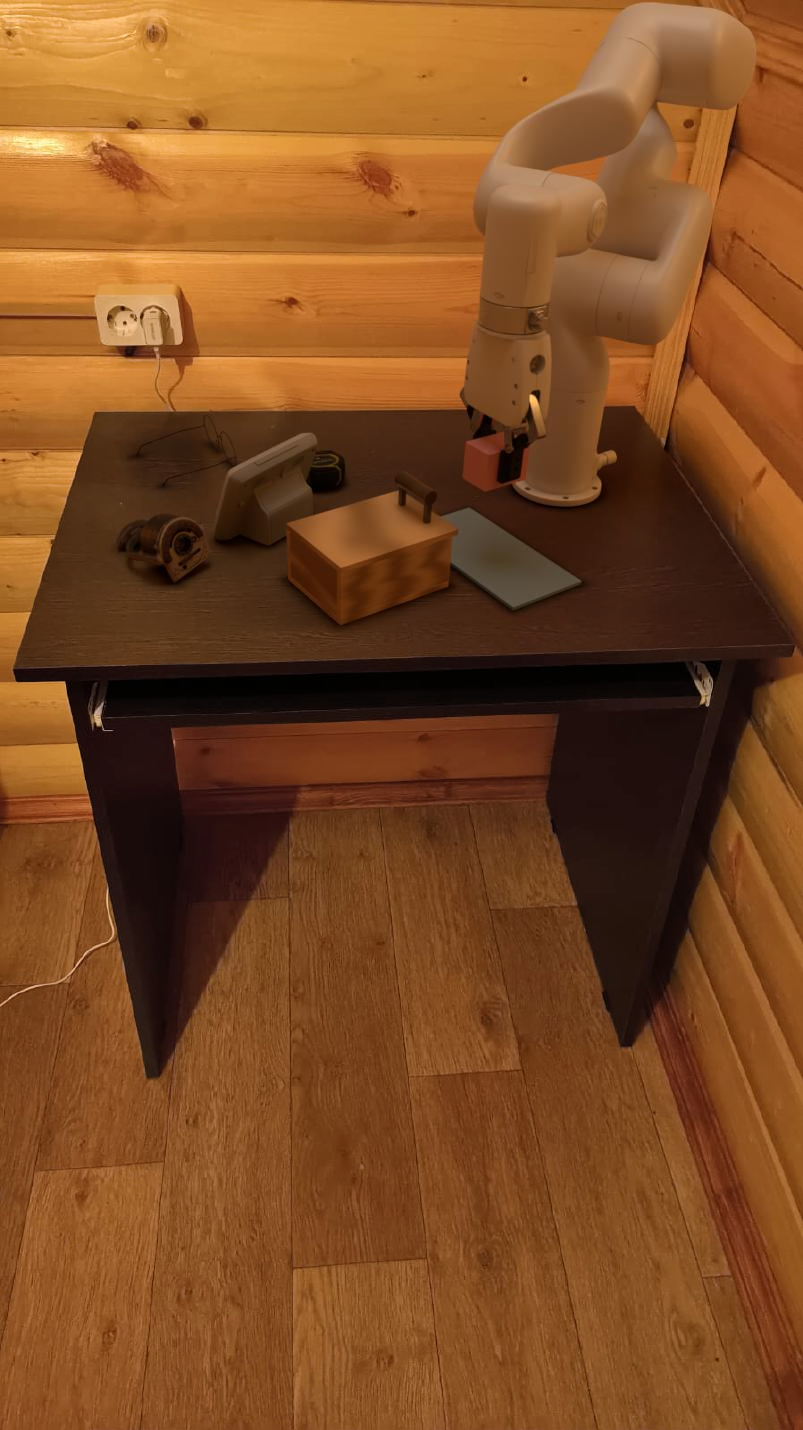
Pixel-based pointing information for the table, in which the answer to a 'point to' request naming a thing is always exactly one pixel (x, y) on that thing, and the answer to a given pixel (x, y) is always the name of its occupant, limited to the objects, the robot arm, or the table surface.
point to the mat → (503, 562)
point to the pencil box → (368, 579)
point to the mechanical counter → (167, 543)
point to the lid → (375, 527)
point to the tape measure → (326, 470)
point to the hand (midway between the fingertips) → (495, 470)
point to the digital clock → (267, 492)
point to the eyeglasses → (210, 442)
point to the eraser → (488, 462)
